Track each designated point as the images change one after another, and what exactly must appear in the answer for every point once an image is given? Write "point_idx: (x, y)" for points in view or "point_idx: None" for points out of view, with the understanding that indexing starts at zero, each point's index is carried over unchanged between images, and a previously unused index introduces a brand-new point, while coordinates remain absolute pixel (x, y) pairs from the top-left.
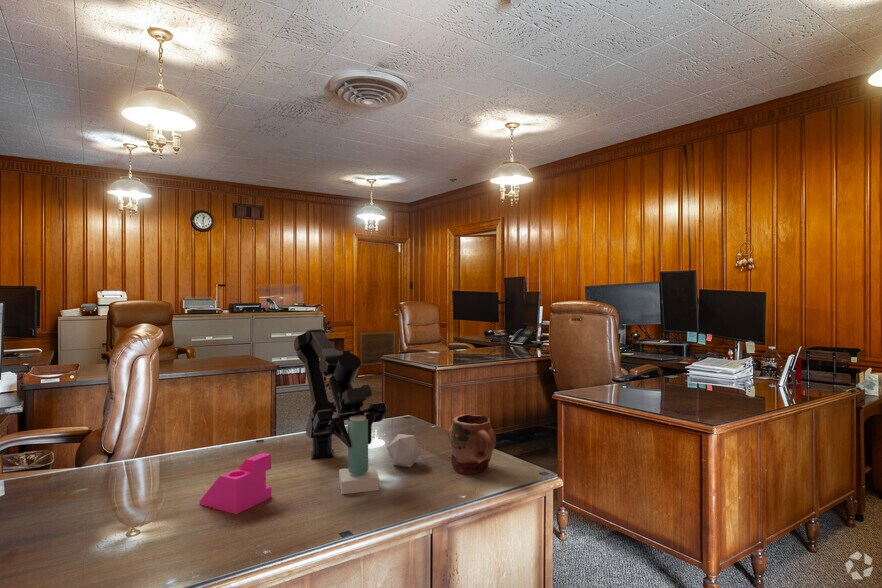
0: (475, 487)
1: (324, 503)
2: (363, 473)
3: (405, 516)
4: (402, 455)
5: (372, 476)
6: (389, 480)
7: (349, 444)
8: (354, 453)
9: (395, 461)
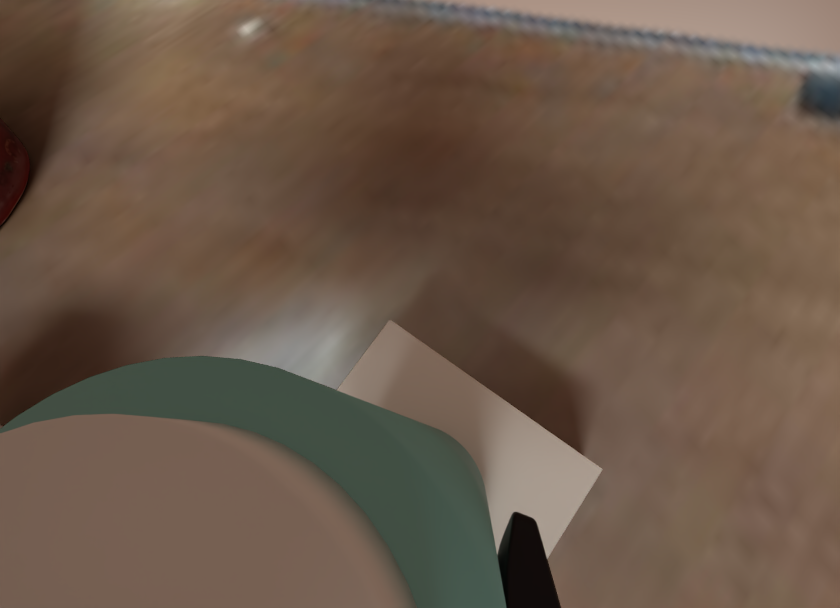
0: (148, 49)
1: (736, 441)
2: None
3: (534, 51)
4: None
5: (396, 370)
6: None
7: (535, 532)
8: (477, 476)
9: None
